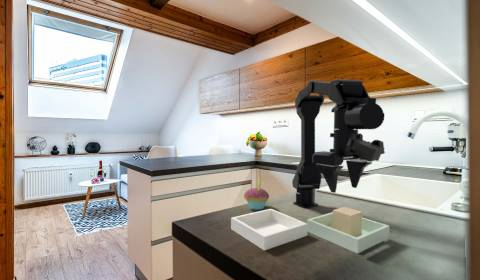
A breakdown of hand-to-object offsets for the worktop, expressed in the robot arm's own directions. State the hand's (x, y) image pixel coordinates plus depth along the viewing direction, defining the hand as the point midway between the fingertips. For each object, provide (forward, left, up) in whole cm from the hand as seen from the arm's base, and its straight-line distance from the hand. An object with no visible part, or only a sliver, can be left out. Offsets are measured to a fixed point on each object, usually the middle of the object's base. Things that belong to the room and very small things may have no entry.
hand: (344, 189), depth 63 cm
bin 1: (+16, -11, -12) cm, 23 cm away
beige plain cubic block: (0, +1, -11) cm, 11 cm away
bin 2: (0, +1, -12) cm, 12 cm away
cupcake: (+6, -29, -12) cm, 32 cm away
